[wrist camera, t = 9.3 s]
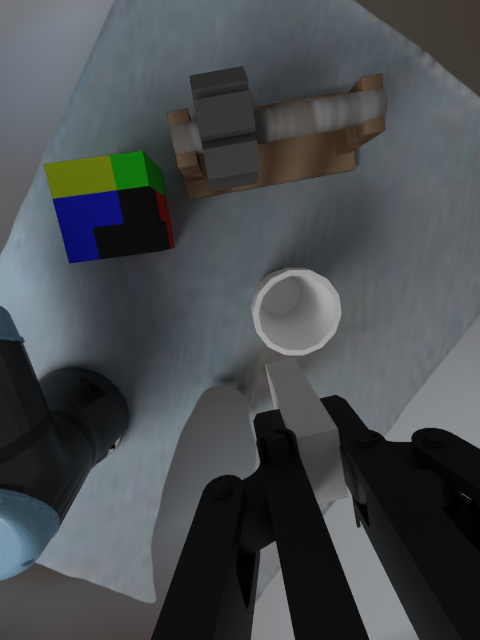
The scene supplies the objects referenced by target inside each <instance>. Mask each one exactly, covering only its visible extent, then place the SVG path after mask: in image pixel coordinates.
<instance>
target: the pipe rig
mask: <svg viewBox="0 0 480 640" xmlns="http://www.w3.org/2000/svg"><path fill="white" fill-rule="evenodd" d="M386 109H387V95H386V92H385V90H384V88H383V82H382V73H381V74H376V75H370V76H365V77H361V78H360V79H359V81H358V82H357V83H356V84H355V85H354V86H353V87H352V89H351V90H350V91H344V92H339V93H333V94H327V95H322V96H316V97H311V98H305V99H300V100H294V101H289V102H283V103H277V104H272V105H266V106H261V107H255V108H253V113H254V119H255V126H256V128H255V136H256V139H257V148H258V165H259V171H258V177H259V178H258V180H257V183H256V184H252V185H247V186H241V187H235V188H230V189H224V190H219V191H213V192H211V189H210V185H209V180H208V175H207V170H206V165H205V160H204V155H203V150H202V143H201V139H200V134H199V129H198V123H197V118H194V119H190V115H189V112H188V109H181V110H176V111H170V112H167V115H168V120H169V125H170V132H171V138H172V143H173V147H174V151H175V154H176V159H177V164H178V168H179V169H180V171H181V172H182V174H183V177H184V182H185V187H186V192H187V197H188V200H192V199H197V198H203V197H208V196H214V195H220V194H225V193H231V192H236V191H242V190H247V189H253V188H259V187H264V186H270V185H275V184H281V183H286V182H292V181H298V180H303V179H309V178H314V177H320V176H325V175H331V174H337V173H342V172H348V171H353V170H355V169H356V167H355V155H354V150H356V149H357V148H359V147H360V146H362V145H363V144H365V143H367V142H368V141H370V140H371V139H373V138H374V137H376V136H377V135H379V134H380V133H382V132H384V131H385V114H386Z"/></svg>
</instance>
